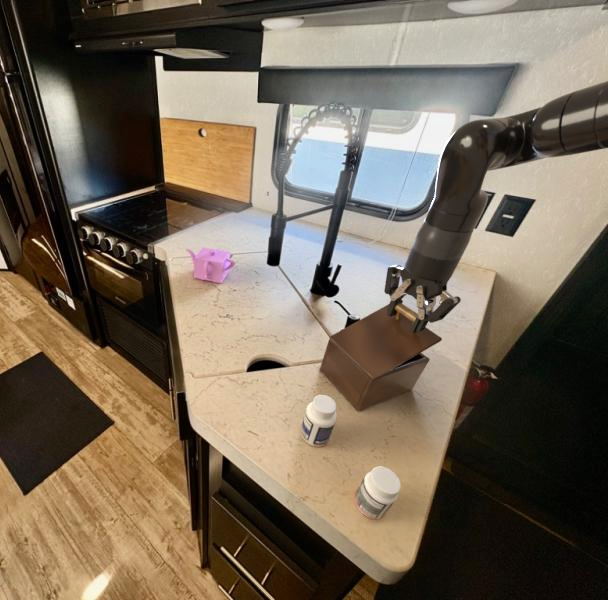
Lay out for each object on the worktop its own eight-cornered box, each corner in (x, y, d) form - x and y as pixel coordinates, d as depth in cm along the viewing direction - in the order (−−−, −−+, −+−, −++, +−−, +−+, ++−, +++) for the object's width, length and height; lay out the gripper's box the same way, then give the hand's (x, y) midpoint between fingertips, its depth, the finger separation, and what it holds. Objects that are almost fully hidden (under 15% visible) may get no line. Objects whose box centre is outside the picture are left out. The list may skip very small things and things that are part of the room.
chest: (369, 352, 80) (381, 323, 74) (411, 389, 70) (430, 359, 64) (319, 369, 75) (328, 339, 69) (357, 411, 65) (372, 381, 60)
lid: (389, 305, 71) (392, 289, 68) (441, 340, 61) (447, 323, 58) (329, 339, 69) (328, 323, 66) (373, 380, 60) (374, 365, 56)
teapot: (179, 280, 108) (177, 254, 102) (194, 262, 118) (194, 237, 113) (228, 290, 103) (230, 263, 97) (240, 270, 113) (241, 245, 107)
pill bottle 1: (331, 430, 62) (344, 399, 56) (324, 452, 58) (336, 422, 52) (304, 417, 64) (314, 386, 58) (296, 438, 60) (305, 407, 55)
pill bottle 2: (374, 486, 53) (391, 461, 48) (391, 517, 49) (411, 493, 45) (348, 490, 53) (362, 465, 48) (363, 522, 49) (380, 498, 44)
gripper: (494, 262, 50) (448, 340, 60) (417, 230, 61) (388, 300, 71) (462, 271, 48) (420, 350, 58) (388, 236, 59) (363, 307, 69)
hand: (403, 322), depth 65 cm, fingers closed on lid, 5 cm apart
